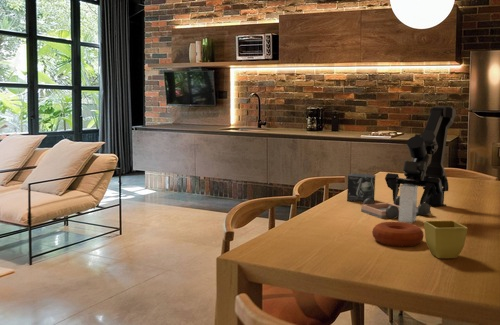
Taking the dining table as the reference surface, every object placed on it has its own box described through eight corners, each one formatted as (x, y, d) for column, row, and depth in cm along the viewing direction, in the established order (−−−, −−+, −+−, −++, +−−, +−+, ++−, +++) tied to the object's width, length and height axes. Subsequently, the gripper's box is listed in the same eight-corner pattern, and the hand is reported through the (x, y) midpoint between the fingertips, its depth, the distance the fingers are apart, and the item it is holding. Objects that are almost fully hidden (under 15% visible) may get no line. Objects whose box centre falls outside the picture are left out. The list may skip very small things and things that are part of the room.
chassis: (406, 206, 221) (406, 195, 220) (433, 214, 207) (434, 202, 206) (358, 210, 212) (359, 198, 211) (384, 219, 198) (384, 207, 197)
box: (346, 201, 229) (347, 175, 228) (348, 198, 236) (349, 173, 234) (373, 203, 226) (374, 177, 225) (374, 200, 233) (375, 174, 231)
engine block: (402, 219, 199) (404, 183, 197) (415, 220, 197) (417, 185, 195) (398, 221, 195) (400, 185, 194) (411, 223, 193) (413, 186, 191)
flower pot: (421, 251, 159) (423, 220, 158) (451, 251, 160) (453, 220, 159) (434, 261, 151) (436, 228, 149) (466, 261, 151) (468, 227, 150)
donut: (432, 242, 170) (433, 226, 169) (406, 252, 159) (407, 234, 159) (389, 233, 180) (390, 217, 180) (361, 241, 170) (362, 224, 169)
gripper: (388, 150, 201) (375, 185, 194) (442, 154, 191) (431, 191, 184) (394, 170, 209) (382, 204, 201) (446, 174, 199) (436, 211, 191)
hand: (407, 202), depth 194 cm, fingers open, 9 cm apart
